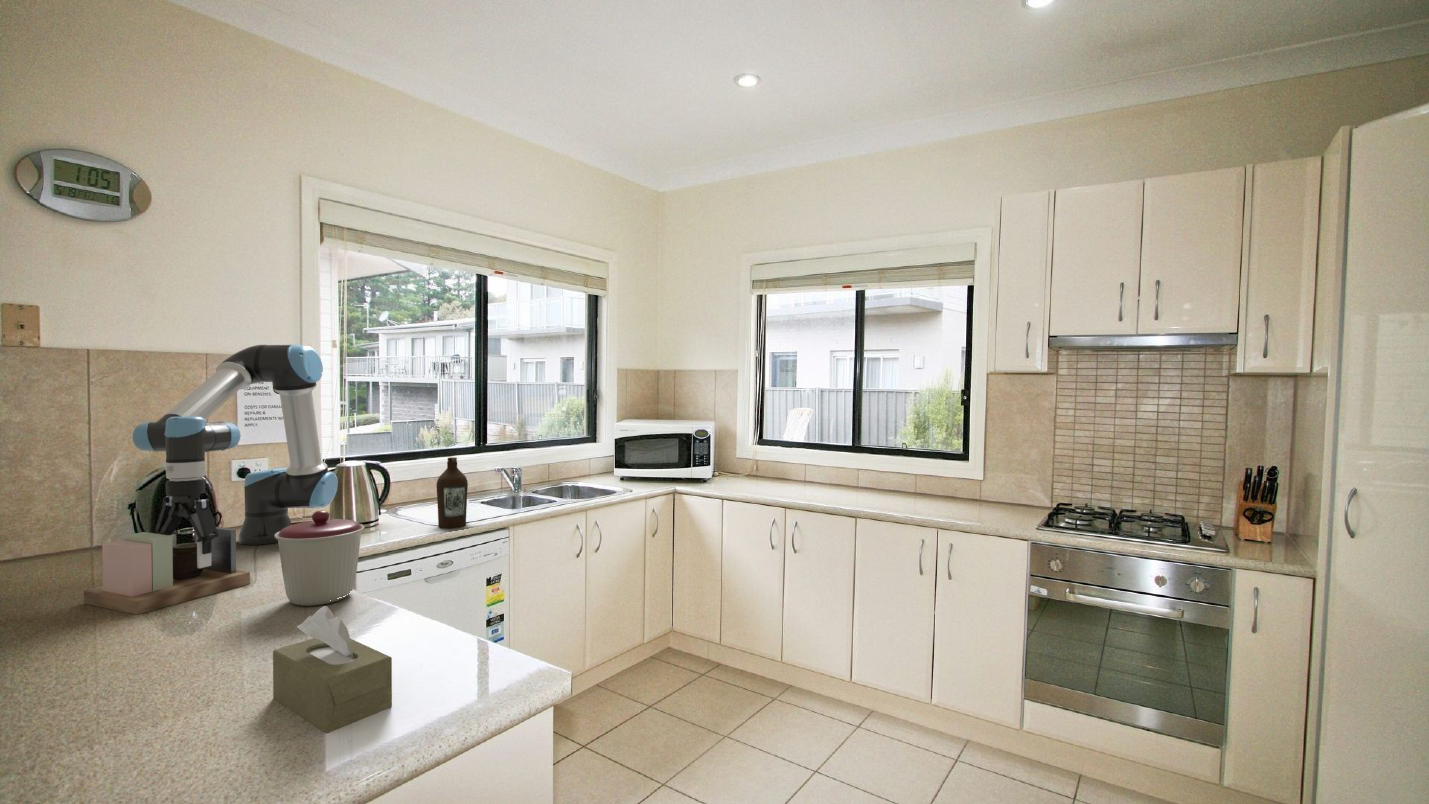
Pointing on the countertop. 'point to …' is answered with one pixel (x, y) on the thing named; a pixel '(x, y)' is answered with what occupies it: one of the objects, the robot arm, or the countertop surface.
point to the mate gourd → (185, 561)
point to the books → (138, 564)
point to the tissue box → (331, 675)
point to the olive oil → (452, 496)
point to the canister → (319, 559)
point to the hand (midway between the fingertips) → (186, 564)
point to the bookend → (223, 551)
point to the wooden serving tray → (168, 592)
